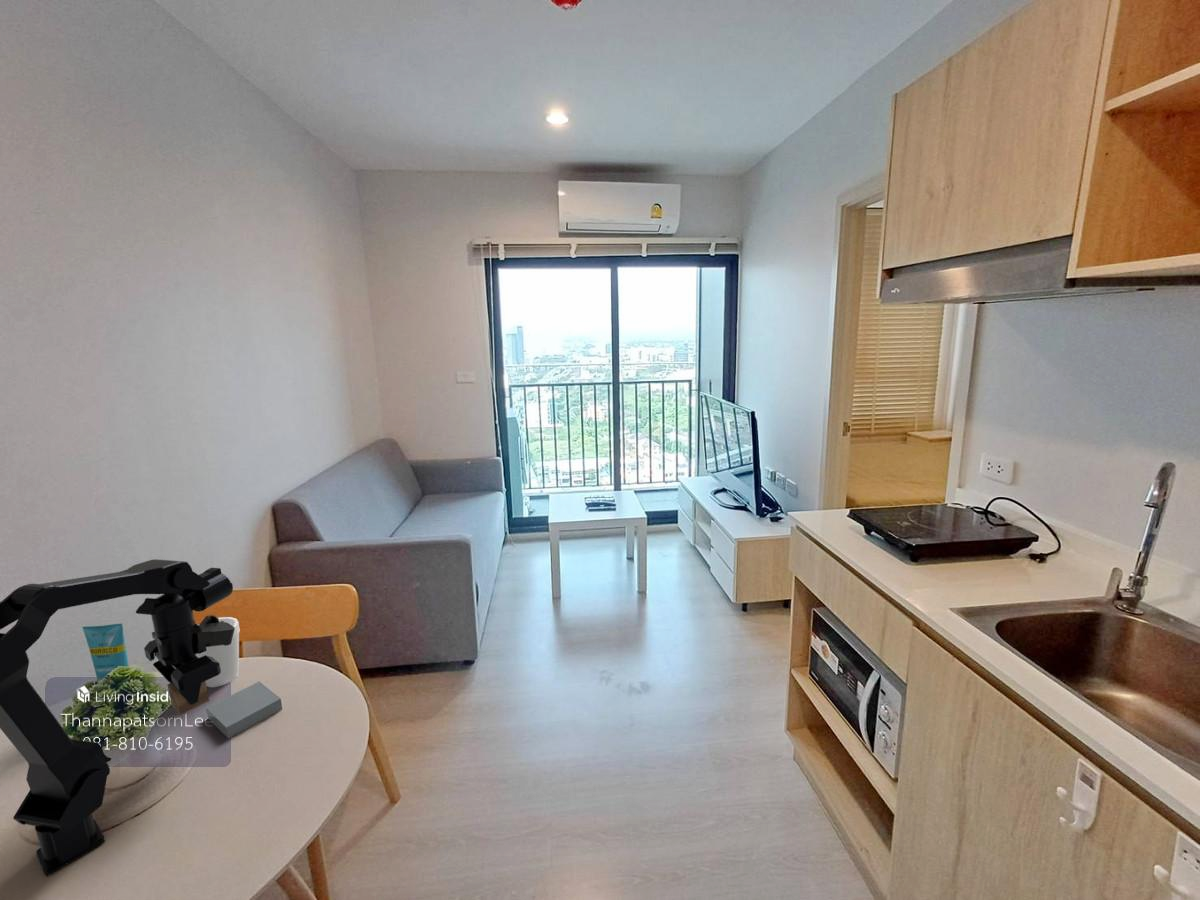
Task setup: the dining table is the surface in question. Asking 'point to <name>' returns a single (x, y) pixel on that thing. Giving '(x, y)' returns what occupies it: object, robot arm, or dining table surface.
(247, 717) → the block
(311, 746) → the dining table surface
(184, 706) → the walnut cube
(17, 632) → the robot arm
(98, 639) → the tube
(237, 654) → the foam cup
